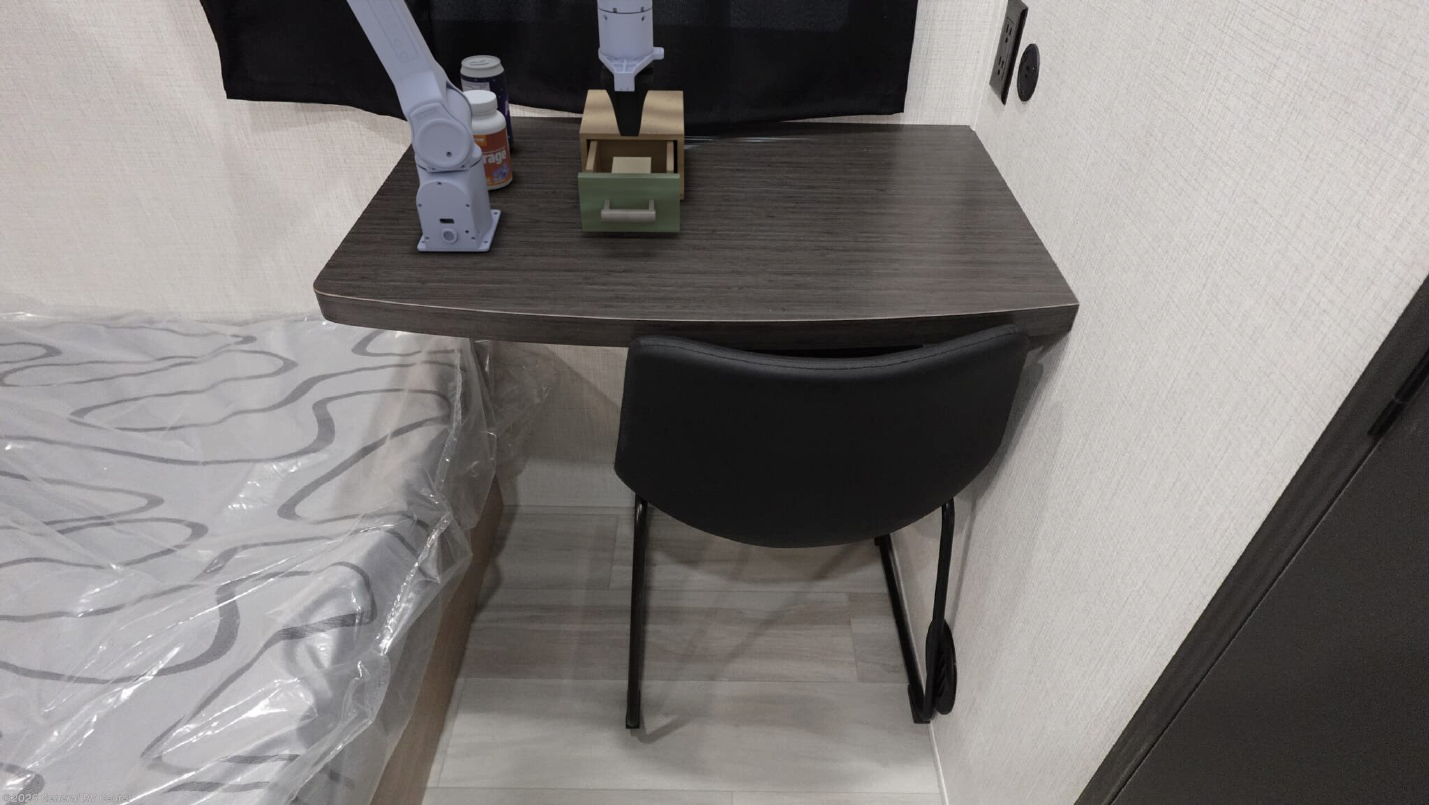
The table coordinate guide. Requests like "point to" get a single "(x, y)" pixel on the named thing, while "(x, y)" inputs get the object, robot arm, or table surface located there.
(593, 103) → the cabinet
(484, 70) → the beverage can
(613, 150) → the drawer
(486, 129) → the pill bottle
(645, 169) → the block
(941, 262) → the table surface
